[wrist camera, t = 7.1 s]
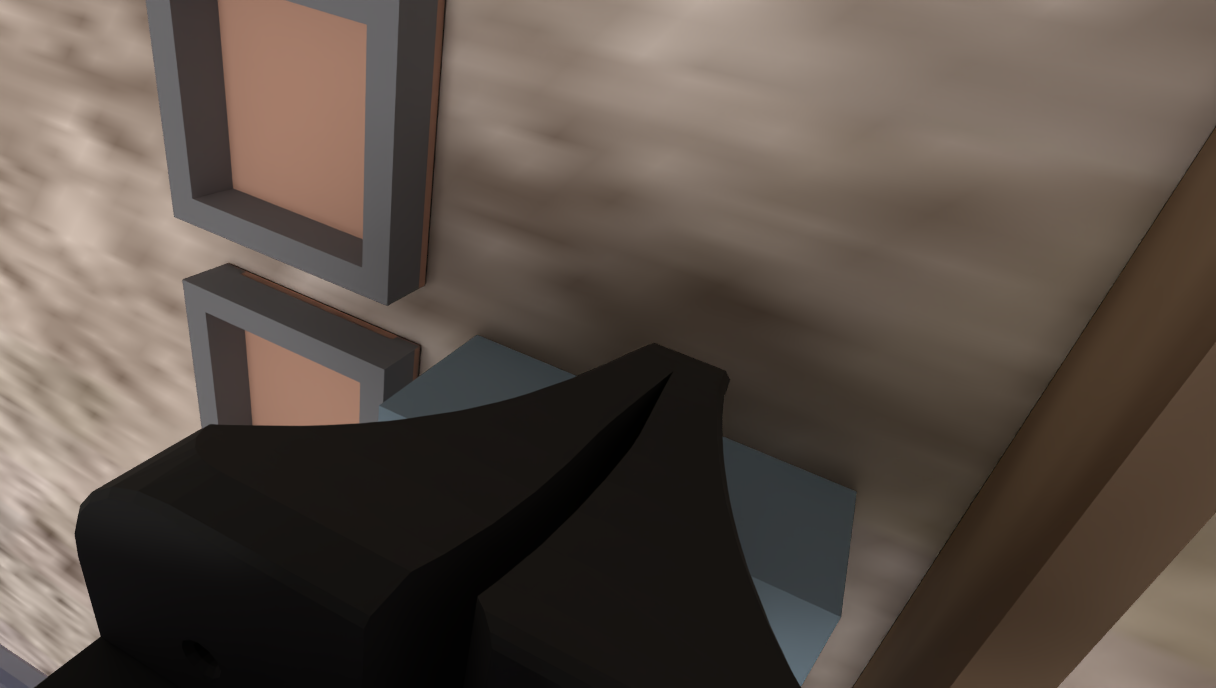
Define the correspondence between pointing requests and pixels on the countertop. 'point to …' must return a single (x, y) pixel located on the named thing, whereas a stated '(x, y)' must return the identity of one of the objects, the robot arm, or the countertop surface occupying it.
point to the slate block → (757, 484)
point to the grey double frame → (300, 191)
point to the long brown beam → (1083, 480)
